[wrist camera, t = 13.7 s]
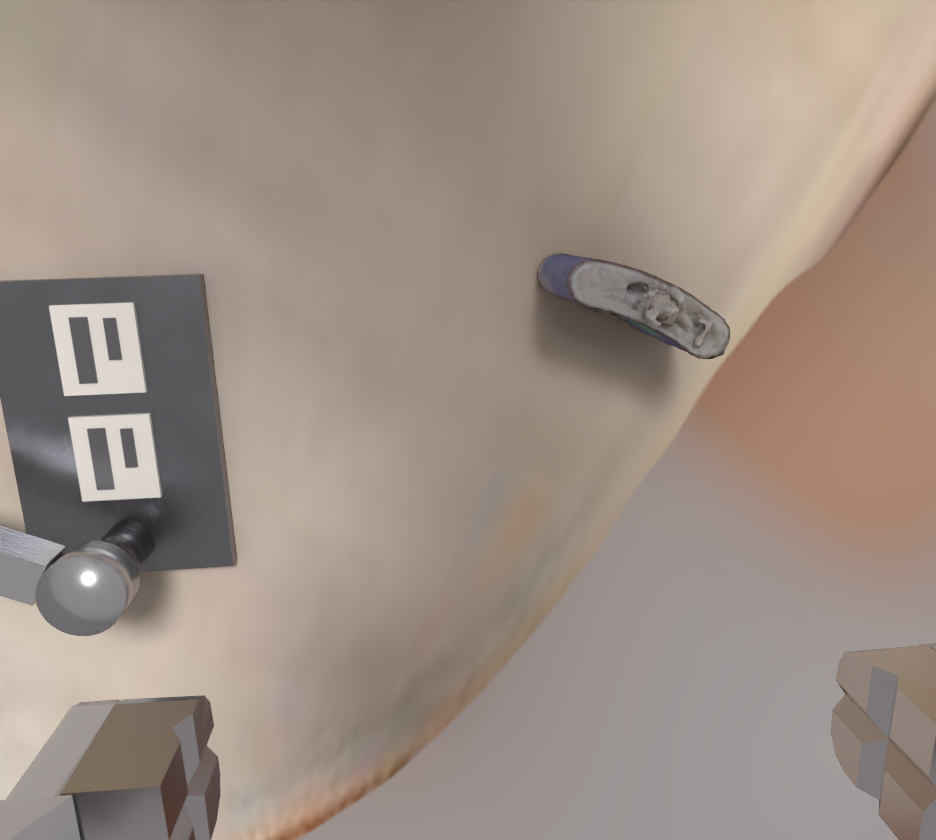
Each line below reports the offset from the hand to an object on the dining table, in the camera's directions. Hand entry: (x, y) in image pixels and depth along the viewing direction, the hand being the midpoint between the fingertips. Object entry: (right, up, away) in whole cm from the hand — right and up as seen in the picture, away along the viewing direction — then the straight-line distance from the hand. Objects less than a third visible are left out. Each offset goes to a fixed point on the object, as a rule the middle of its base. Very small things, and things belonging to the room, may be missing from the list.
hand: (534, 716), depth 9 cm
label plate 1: (-22, +8, +32) cm, 40 cm away
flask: (+8, +12, +35) cm, 38 cm away
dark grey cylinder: (-22, -4, +35) cm, 42 cm away
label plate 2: (-22, +2, +34) cm, 41 cm away
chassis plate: (-22, +3, +35) cm, 41 cm away
